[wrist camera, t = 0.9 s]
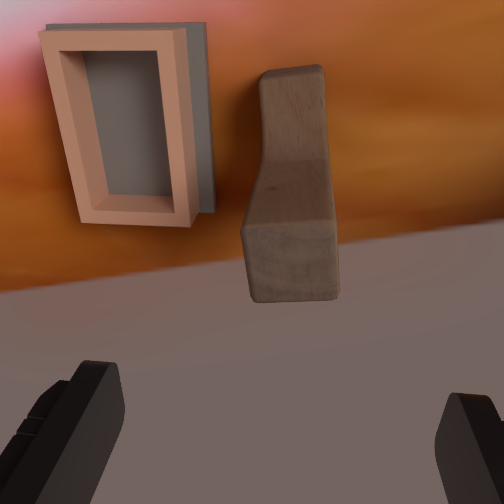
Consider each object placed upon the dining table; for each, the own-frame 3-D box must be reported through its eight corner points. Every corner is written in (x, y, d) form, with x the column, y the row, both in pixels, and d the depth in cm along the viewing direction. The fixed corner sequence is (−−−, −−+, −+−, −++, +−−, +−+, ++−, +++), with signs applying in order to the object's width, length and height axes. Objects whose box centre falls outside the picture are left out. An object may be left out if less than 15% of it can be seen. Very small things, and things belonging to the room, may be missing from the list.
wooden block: (263, 70, 33) (221, 129, 18) (322, 62, 33) (333, 117, 17) (275, 181, 38) (250, 306, 22) (328, 177, 37) (340, 303, 22)
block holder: (205, 22, 32) (191, 24, 28) (216, 208, 40) (206, 231, 36) (52, 23, 34) (18, 26, 30) (90, 204, 41) (67, 225, 37)
